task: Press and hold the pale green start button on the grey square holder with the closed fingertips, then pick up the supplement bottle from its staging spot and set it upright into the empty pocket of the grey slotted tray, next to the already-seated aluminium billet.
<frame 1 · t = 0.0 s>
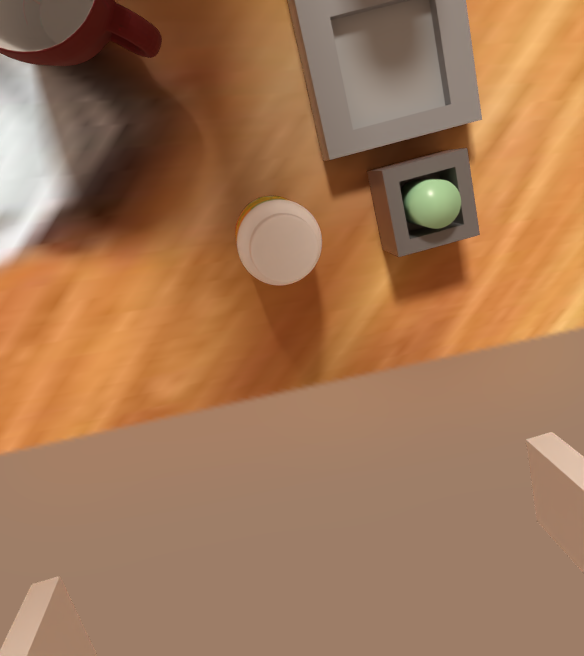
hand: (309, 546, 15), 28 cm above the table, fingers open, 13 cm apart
start button: (427, 202, 38), point 3 cm above the table, slide at 0.9 cm
supplement bottle: (271, 232, 40), on the table
mug: (91, 26, 35), on the table
grey square holder: (412, 200, 41), on the table
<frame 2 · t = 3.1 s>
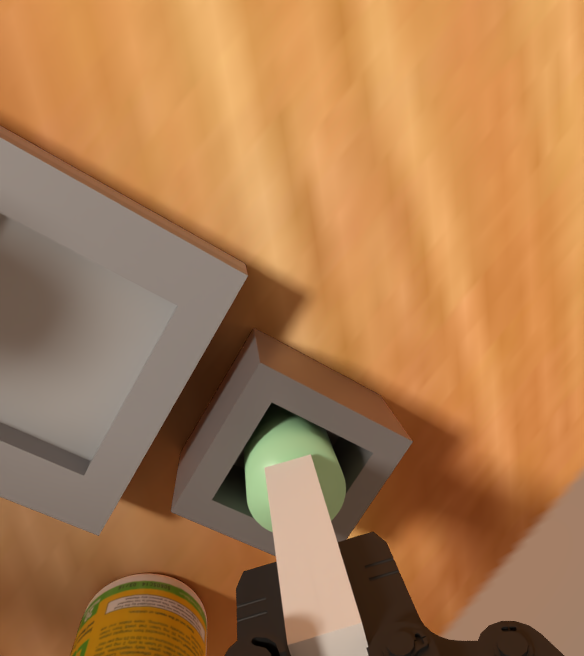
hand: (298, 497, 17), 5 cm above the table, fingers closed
start button: (289, 461, 19), point 3 cm above the table, slide at 1.0 cm, touching grey square holder, gripper
supplement bottle: (147, 616, 24), on the table
grey square holder: (281, 423, 22), on the table
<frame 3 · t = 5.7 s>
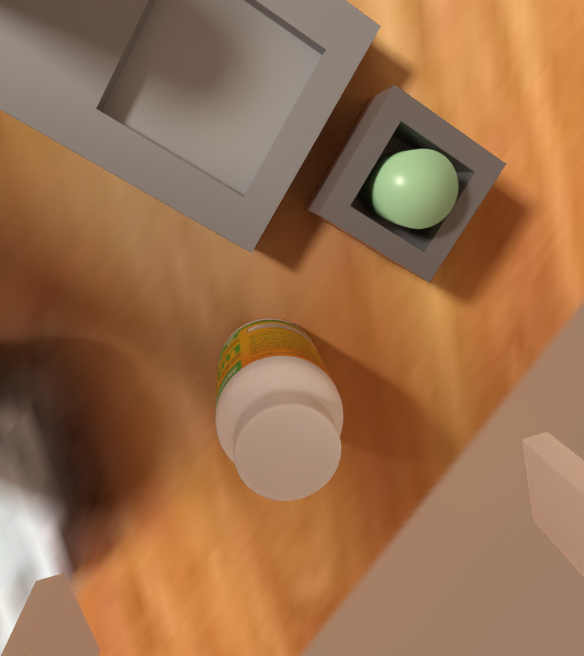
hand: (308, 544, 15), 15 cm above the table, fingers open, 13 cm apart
start button: (405, 188, 24), point 3 cm above the table, slide at 1.0 cm, touching grey square holder
supplement bottle: (267, 363, 29), on the table
grey square holder: (386, 187, 27), on the table
grey slotted tray: (90, 9, 23), on the table
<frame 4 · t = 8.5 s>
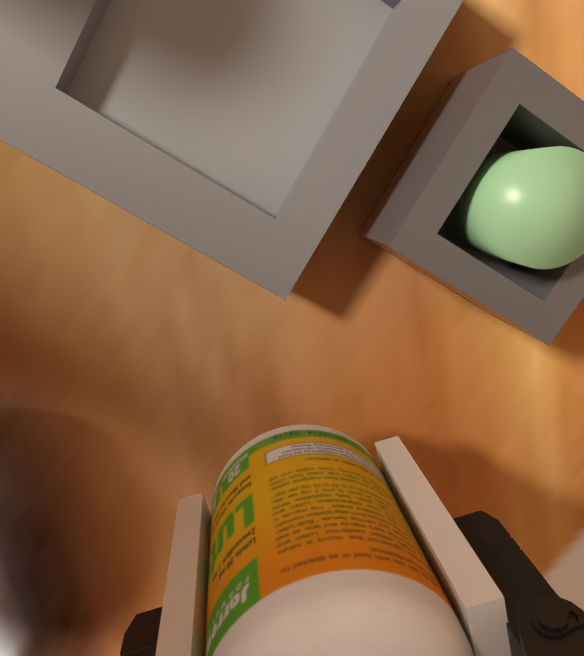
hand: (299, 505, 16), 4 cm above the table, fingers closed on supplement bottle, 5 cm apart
start button: (514, 206, 16), point 3 cm above the table, slide at 1.0 cm, touching grey square holder
supplement bottle: (297, 493, 17), point 4 cm above the table, touching gripper
grey square holder: (473, 202, 19), on the table
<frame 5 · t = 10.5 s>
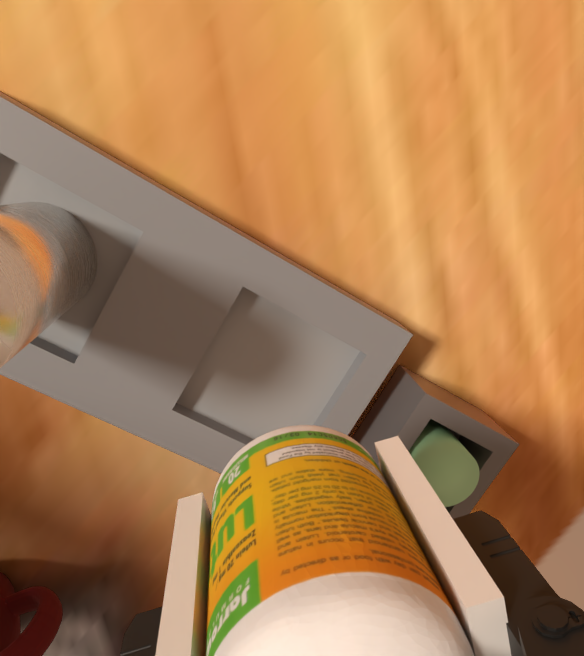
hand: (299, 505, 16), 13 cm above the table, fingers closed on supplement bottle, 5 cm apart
start button: (432, 457, 28), point 3 cm above the table, slide at 1.0 cm, touching grey square holder
supplement bottle: (297, 494, 17), point 12 cm above the table, touching gripper
seated billet: (40, 257, 24), point 1 cm above the table, touching grey slotted tray
grey square holder: (413, 431, 31), on the table
grey slotted tray: (164, 312, 27), on the table
when the fingers open (3 cm above the table, at t = 12.4 s): supplement bottle drops 1 cm, resting on grey slotted tray.
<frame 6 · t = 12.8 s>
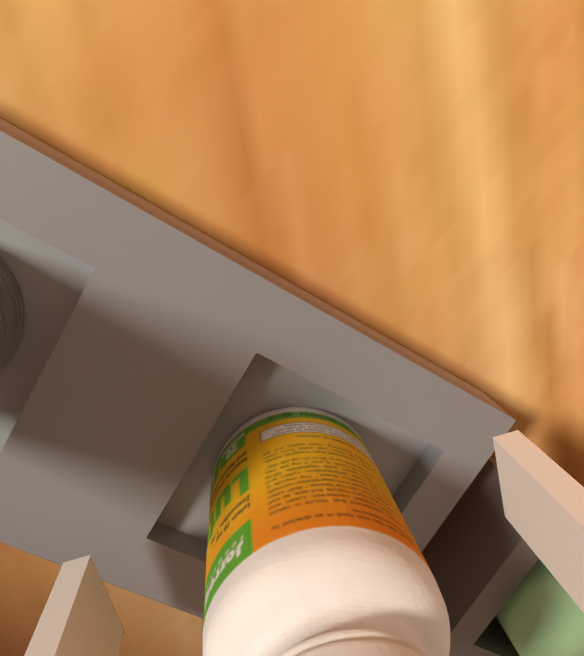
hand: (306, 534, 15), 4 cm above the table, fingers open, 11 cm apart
start button: (537, 596, 19), point 3 cm above the table, slide at 1.0 cm, touching grey square holder
supplement bottle: (291, 473, 18), point 1 cm above the table, touching grey slotted tray
grey square holder: (496, 541, 22), on the table
grey slotted tray: (136, 382, 18), on the table
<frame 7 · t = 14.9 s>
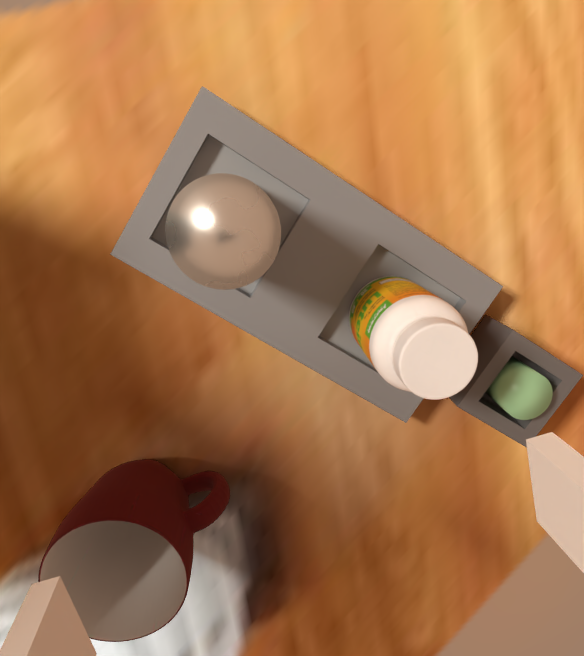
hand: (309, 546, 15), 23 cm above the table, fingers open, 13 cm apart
start button: (513, 385, 36), point 3 cm above the table, slide at 1.0 cm, touching grey square holder
supplement bottle: (386, 314, 35), point 1 cm above the table, touching grey slotted tray
mug: (162, 473, 39), on the table
seated billet: (230, 218, 33), point 2 cm above the table, touching grey slotted tray
grey square holder: (493, 370, 39), on the table
grey slotted tray: (309, 265, 36), on the table
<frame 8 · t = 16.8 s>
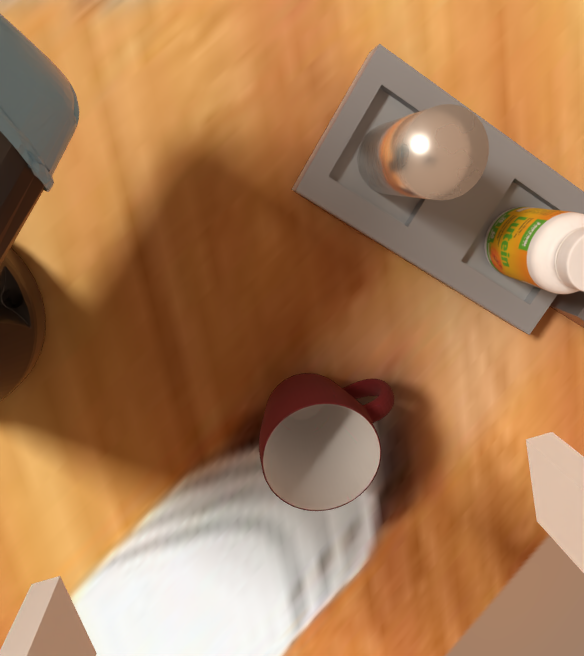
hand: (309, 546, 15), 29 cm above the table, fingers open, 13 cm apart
supplement bottle: (514, 241, 42), point 1 cm above the table, touching grey slotted tray
mug: (314, 389, 45), on the table
seated billet: (391, 158, 39), point 1 cm above the table, touching grey slotted tray
grey slotted tray: (447, 201, 42), on the table
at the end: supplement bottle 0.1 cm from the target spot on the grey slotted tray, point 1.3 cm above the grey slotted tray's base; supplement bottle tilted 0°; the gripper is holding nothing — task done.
